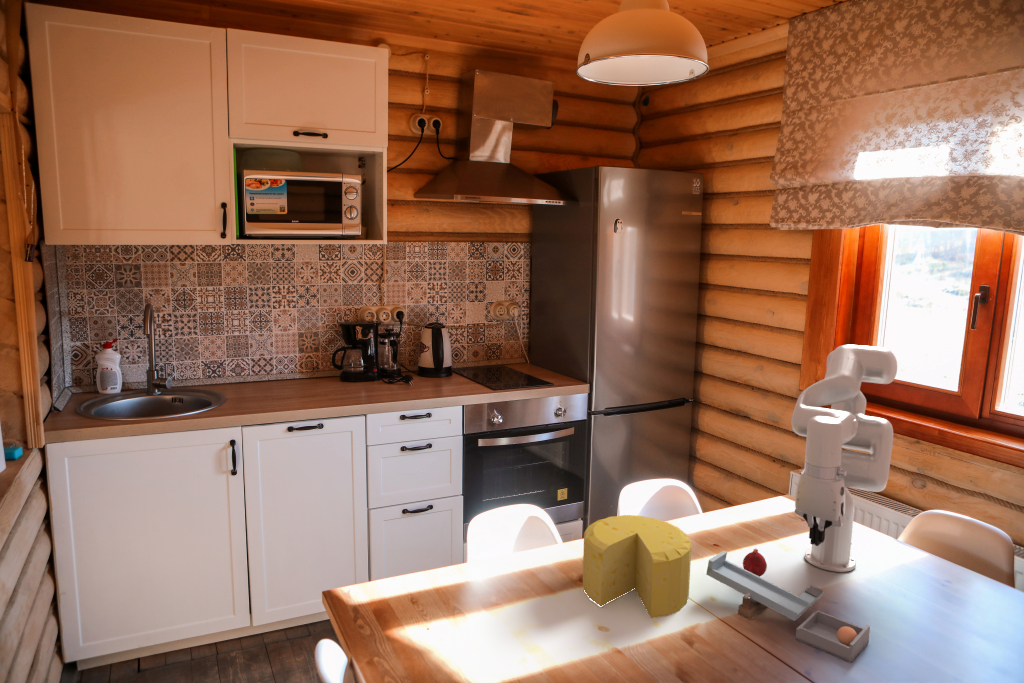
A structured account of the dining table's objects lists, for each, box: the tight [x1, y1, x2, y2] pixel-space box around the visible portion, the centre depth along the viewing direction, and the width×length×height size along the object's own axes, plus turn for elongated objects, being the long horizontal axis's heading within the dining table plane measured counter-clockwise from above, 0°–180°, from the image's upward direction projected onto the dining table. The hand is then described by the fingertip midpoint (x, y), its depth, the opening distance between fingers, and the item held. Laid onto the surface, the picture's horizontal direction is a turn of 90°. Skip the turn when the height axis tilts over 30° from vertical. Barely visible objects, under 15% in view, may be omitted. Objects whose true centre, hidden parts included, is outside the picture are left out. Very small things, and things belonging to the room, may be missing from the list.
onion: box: [742, 548, 768, 577], centre depth 175 cm, size 6×6×8 cm
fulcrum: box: [737, 596, 768, 621], centre depth 160 cm, size 10×3×4 cm, turn 134°
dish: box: [795, 610, 871, 664], centre depth 148 cm, size 10×12×4 cm
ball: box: [837, 626, 857, 647], centre depth 145 cm, size 4×4×4 cm
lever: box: [706, 550, 825, 622], centre depth 162 cm, size 18×22×4 cm
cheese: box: [582, 514, 692, 619], centre depth 168 cm, size 26×26×15 cm
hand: (816, 542), depth 160 cm, fingers closed
